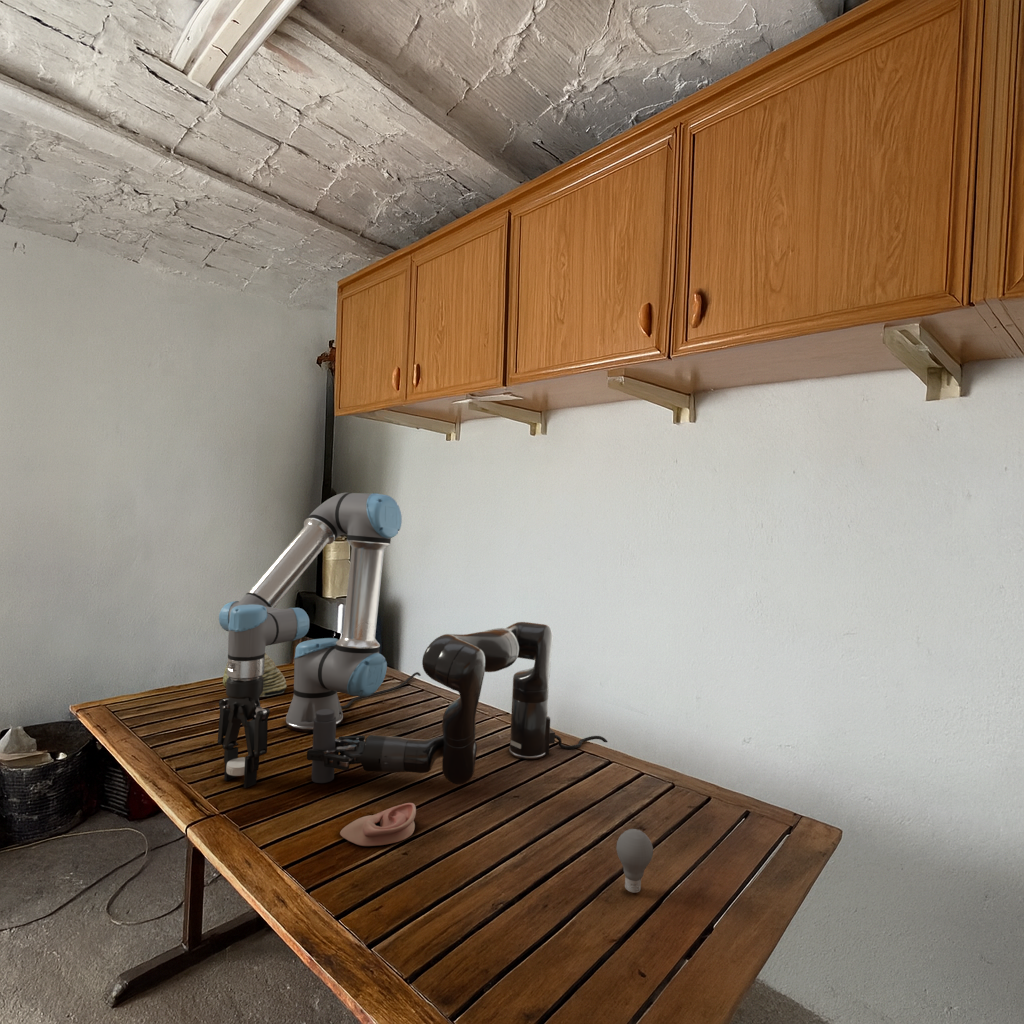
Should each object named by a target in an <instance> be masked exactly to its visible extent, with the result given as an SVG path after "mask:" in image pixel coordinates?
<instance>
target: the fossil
mask: <svg viewBox="0 0 1024 1024" xmlns="http://www.w3.org/2000/svg"><path fill="white" fill-rule="evenodd" d="M227 666H228V661H227V663H226V666H225V668H224V671H223V675H222V676H223V677H222V685H223V687H224V688H225V689H226V681H227V679H228V678H229V677H228V676H227ZM262 677H263V678H264V681H263V692H262V694H261V695H260V697H259V698H264V697H271V696H275V695H281V694H284V693H285V691H286V689H287V687H288V686H287V680H286V678H285V676H284V674H283V673H282V672H281V669H279V668H278V667H277V665H276V663H275V662H274V660H273V659H272V658H271V657H270V656H269V655H268V654H267V653H266V652H265V662H264V674H263V675H262Z"/></svg>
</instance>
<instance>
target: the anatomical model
mask: <svg viewBox="0 0 1024 1024" xmlns="http://www.w3.org/2000/svg"><path fill="white" fill-rule="evenodd" d="M416 806H417V805H415V803H413V802H406V803H402V804H398V805H395V806H392V807H390V808H387V809H385V810H382V811H380V812H378V813H375V814H373V815H372V814H371V815H364V816H362V817H359V818H357V819H355V820H353V821H351V822H349V823H348V824H347V825H345V826H344V827H343V828H342V829H341V830H340V832H339V835H340V837H342V838H343V839H345V840H346V841H348V842H349V843H352V844H355V845H357V846H359V847H376V846H384V845H385V846H386V845H389V844H395V843H398V842H401V841H403V840H406V839H408V838H410V837H411V836H412V835H413V833H414V832H415V828H416V823H415V821H414V820H415V819H416V815H417V807H416Z"/></svg>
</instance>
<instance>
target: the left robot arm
mask: <svg viewBox="0 0 1024 1024" xmlns="http://www.w3.org/2000/svg"><path fill="white" fill-rule="evenodd" d="M402 517H403V516H402V512H401V508H400V506H399V505H398V503H397V501H396V500H395V498H393V497H392V496H390V495H388V494H382V493H374V492H373V493H371V492H369V493H367V492H366V493H365V492H341V493H338V494H336V495H333V496H332V497H330V498H327V499H326V500H325V501H324V502H322V503H321V504H320V505H319V506H317V507H316V508H314V510H313V511H312V512H311V513H310V514H309V515H308V516H307V517H306V518H305V519H304V521H303V527H302V529H301V530H300V531H299V532H298V533H297V534H296V536H295V537H294V538H293V539H292V540H291V541H290V542H289V544H288V545H287V546H286V547H285V548H284V549H283V551H282V552H281V553H280V554H279V555H278V556H277V557H276V558H275V560H274V561H273V562H272V563H271V565H269V566H268V568H267V569H266V570H265V571H264V572H263V574H262V575H261V576H260V577H259V578H258V579H257V581H256V582H255V583H254V584H253V585H252V586H251V588H250V589H249V590H247V592H246V593H245V595H243V597H242V598H241V599H240V600H235V601H233V600H232V601H229V602H228V603H226V604H224V605H223V606H222V607H221V609H220V611H219V614H218V622H219V625H220V627H221V629H223V630H224V631H226V632H228V636H227V637H228V639H227V640H228V641H227V662H228V666H226V667H227V676H228V677H229V678H228V679H227V681H226V688H225V695H226V697H227V698H224V699H220V700H219V701H218V707H219V717H218V728H217V729H218V731H217V745H219V746H220V745H221V746H222V749H223V751H224V752H223V753H224V754H223V763H224V776H223V781H230V780H232V779H235V778H237V777H238V776H232V775H229V774H227V772H226V766H227V762H228V761H230V760H232V759H235V758H239V747H238V745H239V743H238V742H237V741H238V737H239V735H240V730H241V727H243V729H244V734H245V742H246V743H245V744H246V749H247V756H245V770H244V775H243V788H245V789H248V788H250V787H252V786H254V785H257V782H258V781H257V778H258V771H259V768H260V767H259V766H260V757H261V756H264V755H266V754H267V753H268V732H269V731H268V727H269V726H268V725H269V724H268V723H269V721H268V720H269V718H270V717H269V716H270V713H271V710H270V709H269V708H268V707H267V708H263V707H262V706H261V701H260V698H261V697H260V695H261V694H262V692H263V681H264V678H263V677H262V675H263V674H264V662H265V653H266V647H269V646H272V645H278V644H282V643H288V642H293V641H296V640H299V639H302V638H304V637H305V636H306V635H307V634H308V633H309V631H310V630H309V629H310V617H309V615H308V614H307V611H305V610H304V609H303V608H300V607H288V608H278V607H277V606H278V604H279V603H280V602H281V601H282V600H283V598H284V597H285V596H286V595H287V593H288V592H289V591H290V589H291V588H292V587H293V586H294V585H295V584H296V582H297V581H298V580H299V579H300V577H301V576H302V575H303V574H304V572H305V571H306V570H307V569H308V568H309V566H310V565H311V564H312V563H313V562H314V560H315V559H316V558H317V557H318V555H320V553H321V552H322V551H323V549H324V548H325V547H326V546H327V545H331V544H333V543H334V542H335V540H337V539H338V538H339V537H341V536H343V535H346V543H348V544H349V546H350V547H351V551H350V562H349V571H348V579H347V589H346V600H345V608H344V609H345V610H344V618H343V627H342V636H341V637H340V638H339V639H338V638H335V637H324V638H323V637H322V638H313V639H308V640H304V641H302V642H299V643H298V644H297V645H296V647H295V652H294V653H295V654H294V657H293V658H294V660H293V662H294V663H293V665H294V666H293V695H292V696H293V697H292V699H291V702H290V704H289V708H288V711H287V713H286V715H285V726H286V728H287V729H289V730H291V731H294V732H295V731H296V732H301V733H313V726H314V718H316V715H315V713H316V712H317V711H318V710H322V709H331V710H334V711H335V715H334V717H336V728H337V727H339V726H340V725H342V723H343V722H344V714H343V710H344V709H347V708H349V707H350V706H351V705H352V703H354V702H356V701H358V700H362V699H365V698H370V697H374V696H378V695H382V694H384V693H385V694H386V693H389V692H392V691H395V690H397V689H400V688H402V687H403V686H405V685H407V683H408V682H410V680H412V679H413V678H414V677H416V676H419V677H420V676H421V673H420V672H419V671H418V672H417V671H416V672H414V673H413V674H411V675H410V676H409V677H408V678H407V679H406V680H405V681H404V682H402V683H400V684H398V685H396V686H393V687H390V688H388V689H384V690H380V691H378V690H379V688H380V687H382V684H383V683H384V680H385V678H386V675H387V669H388V663H387V660H386V657H385V656H384V655H383V654H381V653H380V648H381V644H380V643H379V642H378V640H377V639H376V634H377V633H376V631H377V622H378V613H379V603H380V593H381V585H382V584H381V583H382V574H383V573H382V572H383V564H384V556H385V555H384V554H385V550H386V549H387V548H388V547H389V546H391V542H392V541H391V540H392V539H393V538H395V537H396V536H397V535H398V534H399V531H400V530H401V528H402V523H403V520H402ZM338 693H342V694H346V695H349V696H350V697H351V696H352V697H354V698H351V700H349V702H348V703H346V704H345V705H341V702H340V699H339V695H338Z"/></svg>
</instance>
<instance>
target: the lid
mask: <svg viewBox="0 0 1024 1024" xmlns="http://www.w3.org/2000/svg"><path fill="white" fill-rule="evenodd" d="M245 757H246V756H245ZM245 757H244V756H241V757H240V756H239V757H238V758H235V759H232V760H230V761H228V762H227V766H226V772H227V774H229V775H232V776H237V777H242V776H244V770H245Z"/></svg>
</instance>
